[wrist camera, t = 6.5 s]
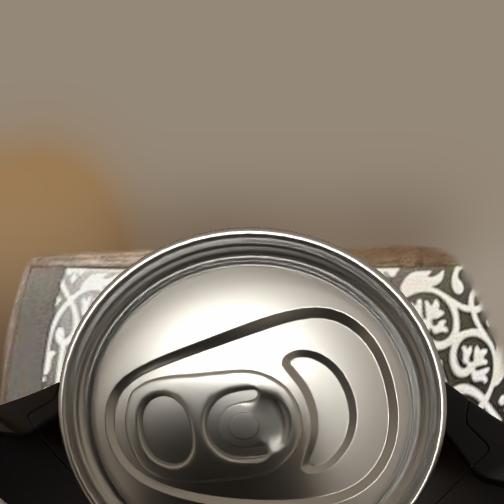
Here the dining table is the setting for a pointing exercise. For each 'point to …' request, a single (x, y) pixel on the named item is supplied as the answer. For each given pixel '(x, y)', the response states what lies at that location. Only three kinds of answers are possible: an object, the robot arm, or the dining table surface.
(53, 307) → the dining table surface
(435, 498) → the robot arm
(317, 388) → the soda can
